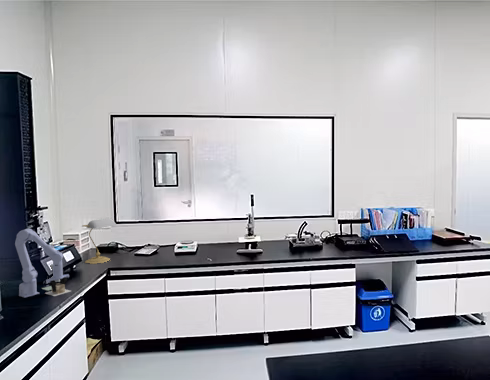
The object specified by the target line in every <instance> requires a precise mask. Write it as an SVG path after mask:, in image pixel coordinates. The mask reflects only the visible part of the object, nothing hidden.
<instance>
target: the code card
mask: <svg viewBox="0 0 490 380" xmlns="http://www.w3.org/2000/svg"><path fill="white" fill-rule="evenodd" d="M70 292H72V290H70V289H66V288H65V292H63V293H59V294H56V293H53V292H52V290H50V291H46V292H45V293H44V294H46V295H49V296H53V297H57V296H60V295H64V294H67V293H70Z"/></svg>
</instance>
